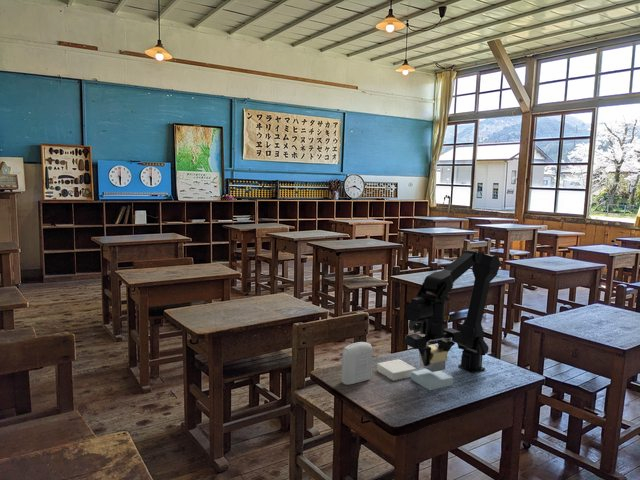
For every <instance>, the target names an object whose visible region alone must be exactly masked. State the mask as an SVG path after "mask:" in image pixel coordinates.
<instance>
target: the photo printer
mask: <svg viewBox="0 0 640 480" xmlns="http://www.w3.org/2000/svg"><path fill="white" fill-rule="evenodd" d="M341 356H342V357H341V358H342V359H341V361H342V362H341V383H342V384H343V385H347V386H348V385H353V384H357V383H361V382H366V381H369V380H371V379H372V368H373V367H372V365H373V347H372V344H371V343H369V342H365V341H359V342H358V341H357V342H353V343H350V344H349V345H346V346H345V347H344V348H343V349H342V355H341Z"/></svg>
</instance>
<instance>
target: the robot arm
mask: <svg viewBox="0 0 640 480" xmlns="http://www.w3.org/2000/svg"><path fill="white" fill-rule="evenodd" d="M500 267H501V261H500V258H499V257H498V256H497V255H494V254H493V255H492V254H487V253H483V252H481V251H478V250H475V249H474V250H473V249H466V250H464V251H463V252H462V254H461V255H460V256H458V257H457V258H455V260H453V261H452V262H451V263H450V264H448V265H447V266H446V267H445V268H443V269H442V270H439V271H435V272H432V273H430V274H429V275H427V276H426V277H425V278H424V280H423V282H422V284H421V285H420V288H419V290H418V292H417V294H416V297H412V298H411V299H410V302H409V303H407V305H406V308H405V314H406V317H407V318H408V320H409V322H408V329H409V331H413V334H412V333H411V334H407V335H406V336H405V337H404V345H407V346H409V347H410V348H413V349H414V350H418V351H419V352H420V355H421V358H422V361H423V364H424V366H427V365H428V361H429V357H430V352H431V347H429V346H428V345H429V344H430V343H431V342H437V346H438V347H440V348H442V349H444V350H446V351H447V354H448V353H449V352H450V351H451V349H452V347H453V346H455V344H456V343H457V348H458V349H460V350H462V355H461V360H460V364H458V368H461V369H463V370H465V371H467V372H468V373H470V374H471V373H472V374H473V373H478V372H482V371H486V368H485V367H484V366H482V365H483V356H486V354H488V352H489V347H490V346H488V344H487V343H486V341H485V339H484V337H485V331H484V328H483V326H482V323H483V322H482V321H483V316H484V311H485V307H486V304H487V298H488V293H489V290H490V285H491V282H492V281H493V280H494V279H495V278H496V276H497V275H498V272H499V269H500ZM470 269H471V272H472V274H473V277H474V282H473V287H472V291H471V295H470V296H471V297H470V299H469V304H468V310H467V314H466V319H465V320H464V321H463V323H461V324H460V323H459V324H458V326H457V329H456V328H455V329H454V328H452V327H449V328H445V325H447V324H448V320H446V319H445V313H446V302H450V301H451V299H450V298H449V297H448V294H449V293H450V292H451V290H452V289H453V288H454V283H455V282H456V281H457V280H458V279H460V277H462V276H463V275H464V274H465V273H466V272H468V271H469V270H470ZM417 333H419V334H417ZM420 334H421V335H420ZM422 335H424V336H422Z"/></svg>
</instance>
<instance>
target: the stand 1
mask: <svg viewBox="0 0 640 480" xmlns="http://www.w3.org/2000/svg"><path fill="white" fill-rule="evenodd" d="M376 364H377V365H376V371H377V372H379V373H380V374H381V375H383V376H385V377H386V376H387V378H388V379H389V380H392V381H393V382H394V381H399V380H403V378H404V379H408V378H411V372H413V371H417V368H416V367H414V366H413V365H410V364H408V363H407V362H405V361H403V360H401V359H393V360H389V361H383V362H378V363H376ZM398 379H399V380H398Z"/></svg>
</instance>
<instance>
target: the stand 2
mask: <svg viewBox="0 0 640 480" xmlns="http://www.w3.org/2000/svg"><path fill="white" fill-rule="evenodd" d="M410 380H412V381H413V382H415V383H416V384H418V385H420V386H421V387H424V388H425V389H427V390H428V391H433V390H437V389H442V388H447V387H449V386H453V383H454V382H453V376H451V375H449V374H447V373H445V372H444V371H443V370H440V371H436V372H431V371H430V370H428V369H426V368H423V369H418V370H416V371H413V372H411V377H410Z"/></svg>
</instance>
